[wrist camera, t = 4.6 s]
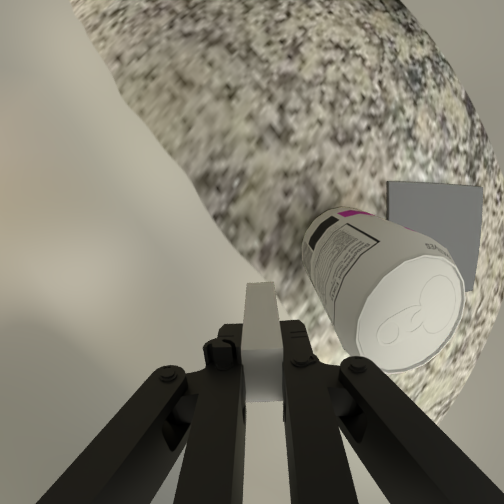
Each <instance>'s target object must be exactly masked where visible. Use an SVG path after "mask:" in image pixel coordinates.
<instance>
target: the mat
mask: <svg viewBox="0 0 504 504" xmlns="http://www.w3.org/2000/svg"><path fill="white" fill-rule="evenodd" d="M482 206H483V187H476V186H465V185H453V184H438V183H419V182H392V181H387V220H388V221H391V222H393V223H396V224H398V225H401V226H404V227H406V228H409V229H411V230H413V231H416V232H418V233H421V234H423V235H426V236H428V237H430V238H432V239H434V240H435V241H436V242H438V243H439V244H441V245H442V246H443V247H445V248H446V249H447V250H448V252H449V254H450V255H451V257H452V259H453V261H454V263H455V265H456V267H457V268H458V270H459V272H460V274H461V276H462V278H463V280H464V286H465V292H468V291H473V286H474V280H475V274H476V268H477V261H478V254H479V246H480V236H481V224H482Z"/></svg>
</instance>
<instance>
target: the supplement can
mask: <svg viewBox="0 0 504 504" xmlns="http://www.w3.org/2000/svg"><path fill="white" fill-rule="evenodd" d="M301 250H302V262H303V264H304V267H305V269H306V271H307V274H308V276H309V278H310V280H311V282H312V284H313V286H314V288H315V290H316V292H317V294H318V296H319V298H320V300H321V302H322V304H323V306H324V308H325V310H326V313H327V315H328V317H329V319H330V321H331V323H332V325H333V327H334V329H335V332H336V334H337V336H338V338H339V340H340V342H341V344H342V347H343V349H344V350H345V351H346V352H347V353H348V354H349V355H350V356H362V357H366V358H368V359H370V360H371V361H373V362H374V363H375V364H376V365H377V366H378V367H379V368H380V369H381V370H382V371H383V372H384V373H386V374H397V373H406V372H408V371H411V370H413V369H416V368H418V367H420V366H423V365H424V364H426V363H427V362H428V361H430V360H431V359H432V358H434V357H435V356H436V355H437V354H439V353H440V352H441V350H442V349H443V348H444V347H445V346H446V344H447V343H448V342H449V341H450V340H451V338H452V337H453V335H454V333H455V331H456V329H457V327H458V325H459V323H460V321H461V319H462V315H463V310H464V305H465V300H466V298H465V286H464V280H463V278H462V276H461V274H460V272H459V270H458V268H457V267H456V265H455V263H454V261H453V259H452V257H451V255H450V254H449V252H448V250H447V249H446V248H445V247H443V246H442V245H441V244H439V243H438V242H436V241H435V240H434V239H432V238H430V237H428V236H426V235H423V234H421V233H418V232H416V231H413V230H411V229H409V228H406V227H404V226H401V225H398V224H396V223H393V222H391V221H388V220H386V219H383V218H380V217H378V216H375V215H372V214H369V213H367V212H364V211H361V210H358V209H355V208H347V207H339V208H335V209H331V210H327V211H326V212H325V213H323V214H322V215H320V216H319V217H317V218H316V219H315V220H314V221H313V222H312V224H311V225H310V226H309V228H308V229H307V231H306V233H305V236H304V239H303V242H302V246H301Z"/></svg>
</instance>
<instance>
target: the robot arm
mask: <svg viewBox="0 0 504 504" xmlns="http://www.w3.org/2000/svg"><path fill="white" fill-rule="evenodd" d="M203 351H204V357H205V362H206V367H205V368H204V369H203V370H200V371H197V372H192V373H187V374H185V371H184V370H183V369H182V368H181V367H178V366H174V365H168V366H163V367H160V368H158V369H156V370H155V371H154V372H153V373H152V374H151V375H150V376H149V377H148V379H147V380H146V381H145V382H144V383H143V384H142V385H141V386H140V388H139V389H138V390H137V391H136V392H135V393H134V394H133V396H132V397H131V398H130V399H129V400H128V401H127V402H126V403H125V405H124V406H123V407H122V408H121V409H120V410H119V411H118V413H117V414H116V415H115V416H114V417H113V418H112V419H111V420H110V421H109V423H108V424H107V425H106V426H105V427H104V428H103V429H102V430H101V432H100V433H99V434H98V435H97V436H96V437H95V438H94V439H93V440H92V442H91V443H90V444H89V445H88V446H87V448H85V449H84V451H83V452H82V453H81V454H80V455H79V456H78V457H77V458H76V459H75V461H74V462H73V463H72V464H71V465H70V466H69V467H68V468H67V470H66V471H65V472H64V473H63V474H62V475H61V476H60V477H59V479H58V480H57V481H56V482H55V483H54V484H53V485H52V486H51V487H50V488H49V490H48V491H47V492H46V493H45V494H44V495H43V496H42V497H41V498H40V500H39V501H38V502H37V503H36V504H150V503H151V501H152V499H153V498H154V496H155V495H156V493H157V491H158V490H159V488H160V487H161V485H162V483H163V482H164V480H165V479H166V477H167V475H168V474H169V472H170V470H171V469H172V467H173V465H174V463H175V462H176V460H177V459H178V457H179V455H180V453H181V452H182V450H183V448H184V447H185V445H186V443H187V446H186V449H185V454H184V458H183V463H182V467H181V471H180V475H179V480H178V484H177V489H176V494H175V498H174V502H173V504H242V501H243V479H244V456H245V432H246V405H245V403H246V402H270V401H283V422H284V424H285V435H286V447H287V457H288V458H287V459H288V471H289V484H290V496H291V504H359V503H358V499H357V495H356V491H355V487H354V483H353V479H352V475H351V471H350V468H349V464H348V460H347V456H346V452H345V449H344V445H343V441H342V437H341V434H340V430H339V428H340V429H341V431H342V433H343V434H344V435H345V437H346V439H347V440H348V442H349V443H350V445H351V446H352V448H353V449H354V451H355V452H356V454H357V455H358V457H359V458H360V460H361V461H362V463H363V464H364V466H365V467H366V469H367V470H368V472H369V473H370V475H371V476H372V478H373V479H374V480H375V482H376V484H377V485H378V486H379V488H380V489H381V491H382V492H383V494H384V495H385V497H386V498H387V500H388V501H389V503H390V504H504V493H503V492H502V491H501V490H500V489H499V488H498V487H497V486H496V485H495V484H494V483H493V482H492V481H491V480H490V479H489V478H488V477H487V476H486V475H485V474H484V473H483V472H482V471H481V470H480V469H479V468H478V467H477V466H476V464H475V463H474V462H473V461H471V459H469V457H468V456H467V455H466V454H465V453H464V452H463V451H462V450H461V449H460V448H459V447H458V446H457V445H456V444H455V443H454V442H453V441H452V440H451V439H450V438H449V437H448V436H447V435H446V434H445V433H444V432H443V431H442V430H441V429H440V428H439V427H438V426H437V425H436V424H435V423H434V422H433V421H432V420H431V419H430V418H429V417H428V416H427V415H426V414H425V413H424V412H423V411H422V410H421V409H420V408H419V407H418V406H417V405H416V404H415V403H414V402H413V401H412V400H411V399H410V398H409V397H408V396H407V395H406V394H405V393H404V392H403V391H402V390H401V389H400V388H399V387H398V386H397V385H396V384H395V383H394V382H393V381H392V380H391V379H390V378H389V377H388V376H387V375H386V374H385V373H384V372H383V371H382V370H381V369H380V368H379V367H378V366H377V365H376V364H375V363H374V362H373V361H371V360H370V359H368V358H366V357H362V356H352V357H348V358H346V359H344V360H343V361H342V362H341V364H340V366H337V365H328V364H324V363H322V362H320V361H319V359H318V357H317V356H316V355H314V354H313V351H312V348H311V344H310V341H309V338H308V334H307V332H306V328H305V325H304V324H303V323H302V322H301V321H300V320H287V321H279V315H278V308H277V301H276V294H275V288H274V282H261V283H247V288H246V299H245V310H244V320H243V324H224V325H223V326H222V327H221V328H220V329H219V332H218V337H217V338H215V339H212V340H210V341H208V342H207V343H205V345H204V346H203ZM338 426H339V427H338Z"/></svg>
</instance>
